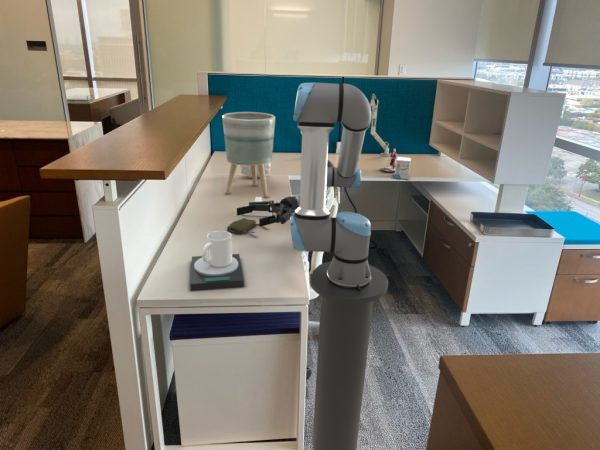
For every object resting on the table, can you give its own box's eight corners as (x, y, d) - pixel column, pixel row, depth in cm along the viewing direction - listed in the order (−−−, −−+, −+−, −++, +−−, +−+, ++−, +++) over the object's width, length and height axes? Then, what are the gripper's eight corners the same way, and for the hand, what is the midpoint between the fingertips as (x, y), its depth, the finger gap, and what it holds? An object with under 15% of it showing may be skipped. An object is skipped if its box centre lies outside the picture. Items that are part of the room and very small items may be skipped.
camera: (240, 175, 268) (239, 149, 262) (269, 175, 270) (270, 149, 264) (240, 180, 258) (239, 153, 252) (271, 180, 260) (271, 153, 254)
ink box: (394, 178, 273) (396, 159, 269) (394, 174, 281) (396, 156, 277) (408, 179, 272) (410, 160, 267) (408, 175, 279) (410, 157, 275)
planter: (276, 199, 228) (278, 120, 213) (224, 200, 224) (222, 119, 209) (271, 184, 253) (272, 112, 237) (224, 185, 249) (222, 111, 233)
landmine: (241, 215, 199) (270, 222, 193) (241, 221, 200) (270, 227, 194) (222, 225, 187) (253, 233, 181) (223, 231, 188) (253, 239, 182)
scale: (243, 286, 147) (243, 278, 146) (190, 290, 143) (190, 281, 142) (239, 259, 165) (239, 251, 164) (192, 262, 161) (191, 254, 160)
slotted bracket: (243, 215, 207) (243, 199, 204) (245, 210, 213) (245, 194, 210) (271, 216, 206) (271, 200, 204) (272, 211, 213) (272, 195, 210)
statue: (391, 170, 295) (395, 147, 291) (400, 173, 287) (405, 150, 283) (378, 169, 290) (382, 146, 285) (386, 173, 282) (391, 149, 278)
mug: (211, 274, 147) (209, 246, 143) (194, 266, 152) (193, 238, 148) (237, 261, 156) (236, 235, 152) (221, 254, 161) (220, 228, 157)
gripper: (315, 224, 163) (270, 238, 150) (273, 206, 180) (228, 217, 167) (316, 204, 161) (270, 217, 147) (273, 188, 178) (228, 198, 164)
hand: (248, 217), depth 157 cm, fingers open, 13 cm apart
